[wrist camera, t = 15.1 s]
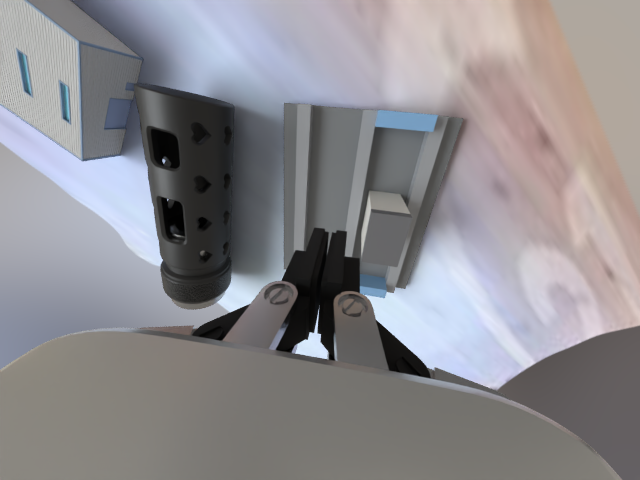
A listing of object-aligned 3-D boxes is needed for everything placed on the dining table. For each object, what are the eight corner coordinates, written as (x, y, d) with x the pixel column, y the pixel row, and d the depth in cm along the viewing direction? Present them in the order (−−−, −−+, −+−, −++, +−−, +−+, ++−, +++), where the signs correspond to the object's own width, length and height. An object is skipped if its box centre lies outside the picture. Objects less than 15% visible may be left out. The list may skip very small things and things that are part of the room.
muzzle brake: (254, 108, 28) (204, 103, 19) (242, 277, 42) (210, 321, 33) (182, 89, 28) (99, 75, 19) (194, 263, 42) (149, 303, 33)
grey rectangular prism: (369, 190, 29) (371, 212, 23) (400, 194, 29) (412, 217, 22) (361, 231, 32) (361, 261, 25) (389, 235, 32) (397, 267, 25)
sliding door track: (286, 103, 27) (275, 101, 24) (459, 118, 25) (475, 118, 22) (285, 265, 39) (278, 279, 35) (404, 284, 37) (408, 302, 33)
